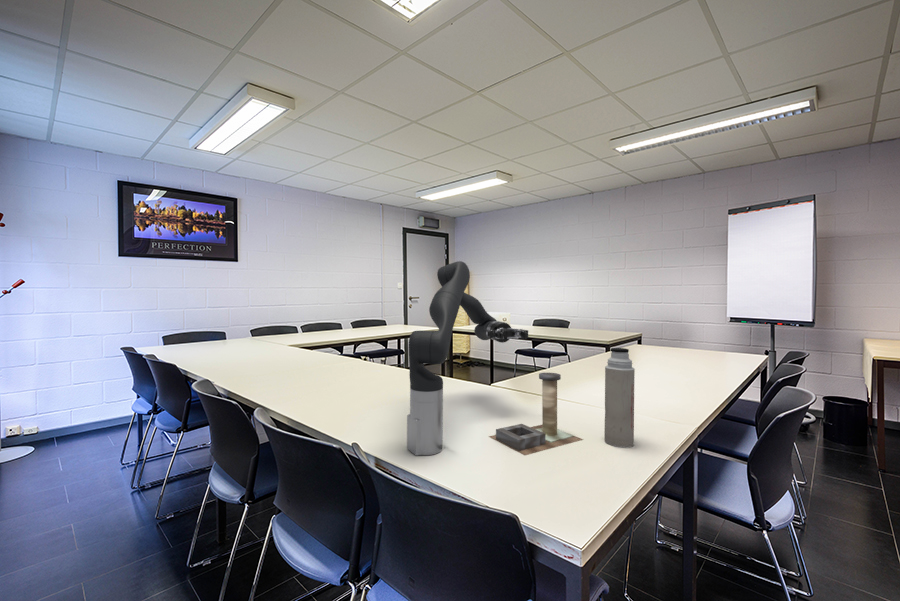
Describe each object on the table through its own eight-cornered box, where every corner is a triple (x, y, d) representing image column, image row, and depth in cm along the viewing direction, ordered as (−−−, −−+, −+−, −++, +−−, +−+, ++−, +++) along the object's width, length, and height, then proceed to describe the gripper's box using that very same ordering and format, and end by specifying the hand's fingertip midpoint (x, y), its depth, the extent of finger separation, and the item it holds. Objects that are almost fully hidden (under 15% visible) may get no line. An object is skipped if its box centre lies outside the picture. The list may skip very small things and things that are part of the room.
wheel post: (549, 438, 114) (549, 377, 114) (534, 432, 119) (534, 373, 119) (565, 434, 117) (565, 375, 117) (549, 428, 122) (549, 371, 122)
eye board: (524, 459, 102) (524, 444, 102) (488, 439, 116) (488, 426, 116) (583, 442, 114) (583, 429, 114) (544, 427, 128) (544, 415, 128)
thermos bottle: (636, 441, 115) (637, 348, 115) (630, 449, 109) (631, 350, 109) (608, 435, 120) (609, 345, 120) (601, 443, 114) (602, 348, 114)
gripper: (480, 321, 144) (494, 324, 128) (516, 321, 147) (534, 324, 131) (480, 341, 144) (493, 347, 129) (516, 341, 147) (533, 346, 131)
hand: (514, 335), depth 130 cm, fingers open, 8 cm apart
